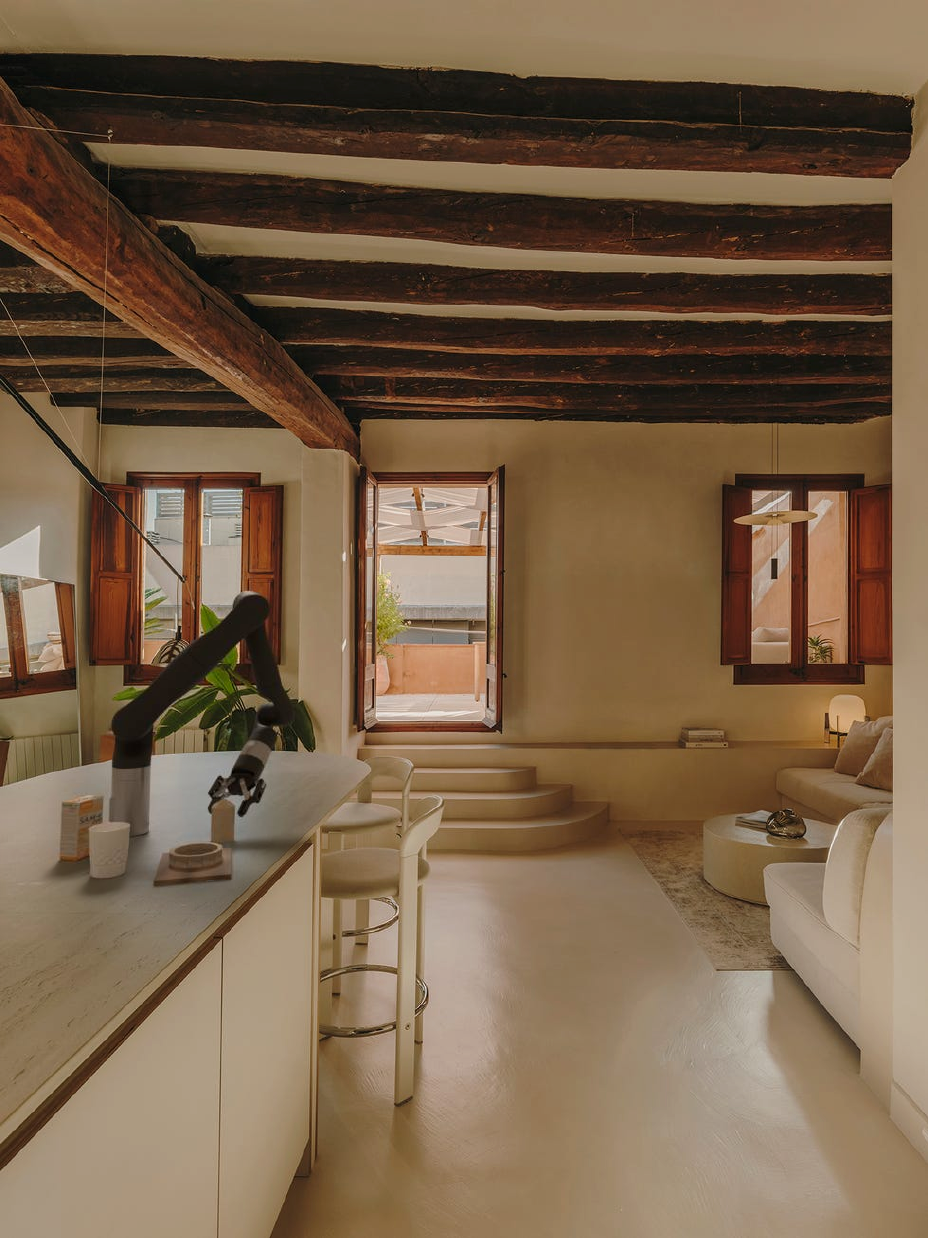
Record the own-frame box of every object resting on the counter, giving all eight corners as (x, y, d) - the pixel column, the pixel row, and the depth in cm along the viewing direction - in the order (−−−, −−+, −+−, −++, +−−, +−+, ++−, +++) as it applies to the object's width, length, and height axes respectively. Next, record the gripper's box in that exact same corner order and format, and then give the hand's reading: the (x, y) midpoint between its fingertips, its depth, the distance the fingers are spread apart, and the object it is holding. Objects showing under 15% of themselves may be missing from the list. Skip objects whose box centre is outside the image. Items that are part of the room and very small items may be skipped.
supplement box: (76, 861, 157) (79, 802, 158) (58, 859, 158) (60, 801, 159) (102, 851, 166) (104, 795, 166) (85, 849, 167) (87, 794, 167)
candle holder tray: (153, 885, 142) (154, 868, 142) (162, 857, 161) (163, 842, 161) (231, 879, 147) (231, 862, 147) (231, 852, 166) (231, 837, 166)
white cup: (136, 870, 152) (138, 824, 152) (107, 881, 144) (109, 833, 145) (108, 866, 154) (110, 820, 155) (78, 877, 147) (80, 829, 147)
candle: (214, 837, 178) (215, 798, 179) (236, 837, 179) (237, 797, 179) (208, 843, 173) (209, 802, 173) (230, 843, 173) (232, 802, 174)
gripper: (223, 751, 188) (194, 803, 176) (270, 754, 184) (243, 808, 172) (234, 768, 192) (207, 820, 181) (280, 771, 189) (255, 824, 177)
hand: (225, 814), depth 177 cm, fingers open, 8 cm apart
